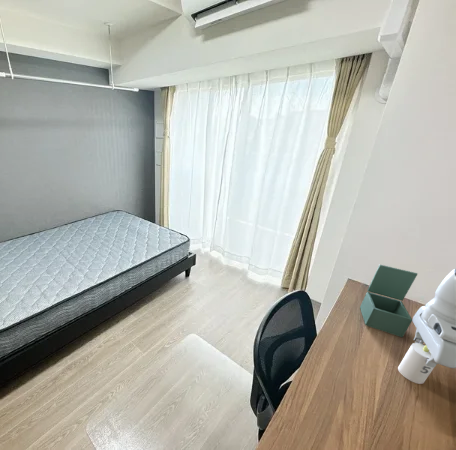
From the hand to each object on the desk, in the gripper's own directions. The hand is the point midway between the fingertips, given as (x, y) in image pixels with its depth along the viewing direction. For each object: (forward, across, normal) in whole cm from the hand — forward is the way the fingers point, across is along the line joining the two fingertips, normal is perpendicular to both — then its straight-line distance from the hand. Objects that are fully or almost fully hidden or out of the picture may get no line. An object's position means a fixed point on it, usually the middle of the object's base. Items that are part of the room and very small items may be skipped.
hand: (422, 353), depth 76 cm
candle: (+10, 0, 0) cm, 10 cm away
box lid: (-6, -31, -3) cm, 32 cm away
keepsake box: (+10, -26, -3) cm, 28 cm away
